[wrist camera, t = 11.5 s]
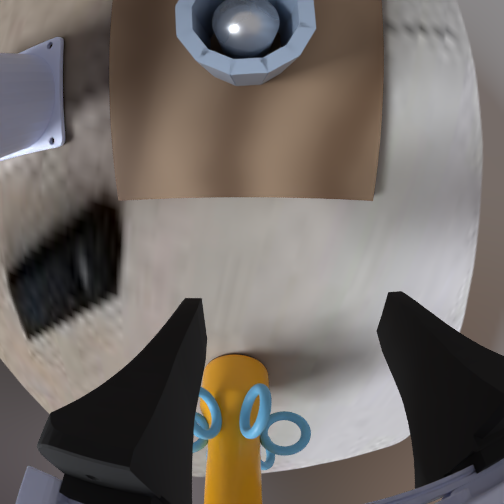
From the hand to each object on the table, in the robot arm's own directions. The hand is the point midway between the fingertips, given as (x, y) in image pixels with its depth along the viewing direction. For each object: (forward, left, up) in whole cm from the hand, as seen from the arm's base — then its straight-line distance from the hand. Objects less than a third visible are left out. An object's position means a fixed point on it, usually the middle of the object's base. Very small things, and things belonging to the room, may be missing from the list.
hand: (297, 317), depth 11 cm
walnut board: (-2, +11, -9) cm, 15 cm away
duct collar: (-2, +11, -8) cm, 14 cm away
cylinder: (-3, -15, -10) cm, 18 cm away
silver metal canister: (-2, +11, -8) cm, 14 cm away
